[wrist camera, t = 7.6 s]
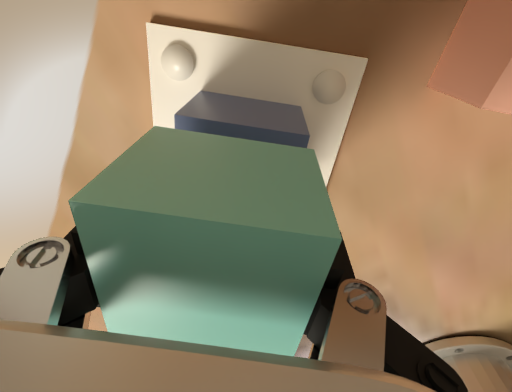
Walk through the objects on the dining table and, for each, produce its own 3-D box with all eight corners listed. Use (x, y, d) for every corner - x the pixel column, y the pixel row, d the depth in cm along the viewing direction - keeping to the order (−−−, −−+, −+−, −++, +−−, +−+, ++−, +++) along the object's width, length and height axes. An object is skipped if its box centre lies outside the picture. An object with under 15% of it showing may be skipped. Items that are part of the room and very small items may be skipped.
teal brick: (314, 149, 10) (342, 239, 6) (283, 260, 13) (288, 369, 9) (154, 125, 10) (67, 201, 6) (163, 244, 13) (112, 346, 9)
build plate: (365, 57, 15) (406, 73, 10) (311, 224, 21) (321, 280, 17) (149, 22, 15) (91, 21, 10) (161, 202, 21) (129, 252, 16)
